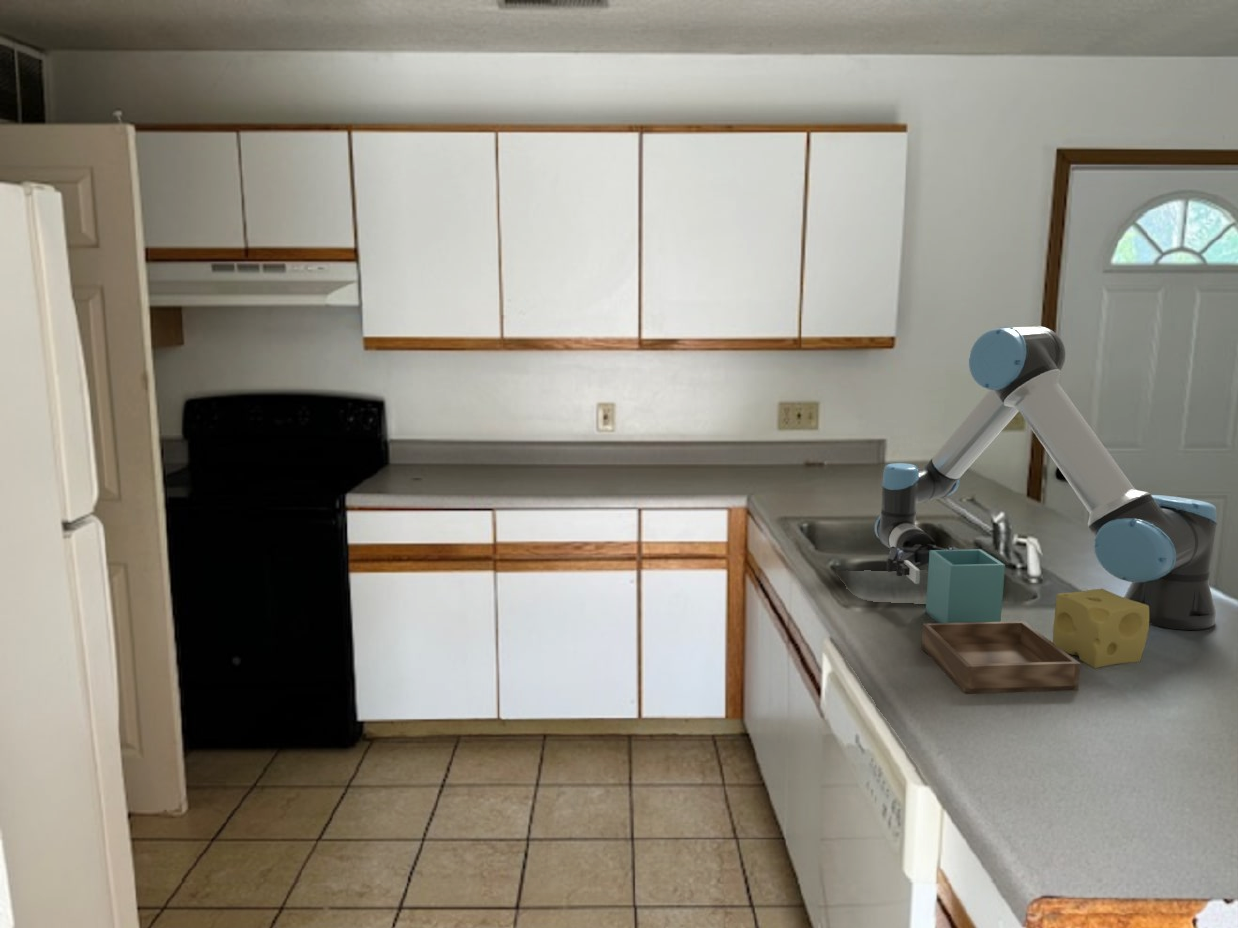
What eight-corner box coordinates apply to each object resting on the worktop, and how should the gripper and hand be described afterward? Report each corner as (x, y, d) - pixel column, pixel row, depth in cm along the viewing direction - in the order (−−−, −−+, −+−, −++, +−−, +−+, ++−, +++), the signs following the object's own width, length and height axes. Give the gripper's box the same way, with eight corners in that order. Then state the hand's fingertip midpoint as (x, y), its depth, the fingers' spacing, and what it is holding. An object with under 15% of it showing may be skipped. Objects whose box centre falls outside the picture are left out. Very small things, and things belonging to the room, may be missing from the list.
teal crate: (976, 610, 175) (980, 549, 172) (999, 629, 165) (1005, 564, 163) (925, 611, 174) (929, 550, 172) (946, 631, 165) (950, 566, 162)
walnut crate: (1021, 645, 158) (1023, 621, 157) (1077, 690, 140) (1080, 663, 139) (921, 647, 157) (922, 623, 156) (964, 693, 140) (966, 666, 139)
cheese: (1094, 669, 148) (1100, 612, 146) (1047, 645, 158) (1052, 591, 156) (1145, 662, 151) (1152, 605, 149) (1096, 638, 161) (1101, 585, 159)
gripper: (968, 560, 194) (1014, 593, 174) (854, 563, 194) (887, 596, 173) (970, 527, 193) (1017, 556, 172) (856, 529, 192) (889, 558, 171)
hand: (952, 576), depth 172 cm, fingers open, 13 cm apart
